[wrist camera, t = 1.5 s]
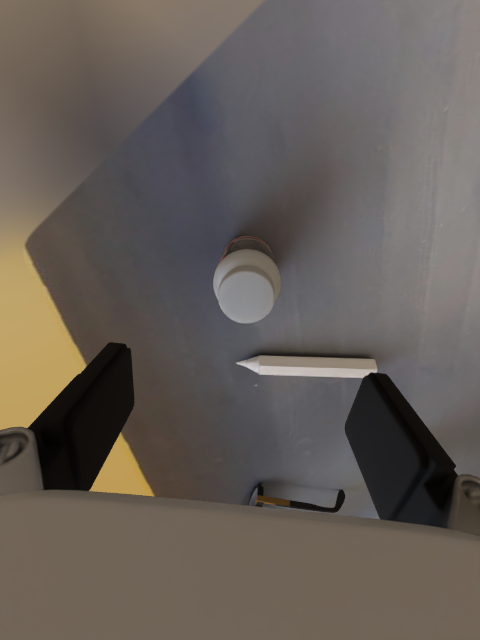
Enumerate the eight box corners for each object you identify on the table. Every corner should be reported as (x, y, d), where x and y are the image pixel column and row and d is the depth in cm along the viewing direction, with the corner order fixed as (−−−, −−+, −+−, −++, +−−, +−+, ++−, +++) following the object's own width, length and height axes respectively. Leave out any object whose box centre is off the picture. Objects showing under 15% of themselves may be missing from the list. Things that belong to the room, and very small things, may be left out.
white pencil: (235, 353, 33) (367, 358, 33) (235, 371, 33) (367, 376, 32) (234, 355, 30) (378, 360, 30) (233, 374, 30) (378, 379, 30)
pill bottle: (216, 239, 26) (200, 265, 18) (271, 231, 26) (283, 254, 17) (225, 290, 29) (215, 336, 20) (276, 284, 28) (288, 328, 19)
